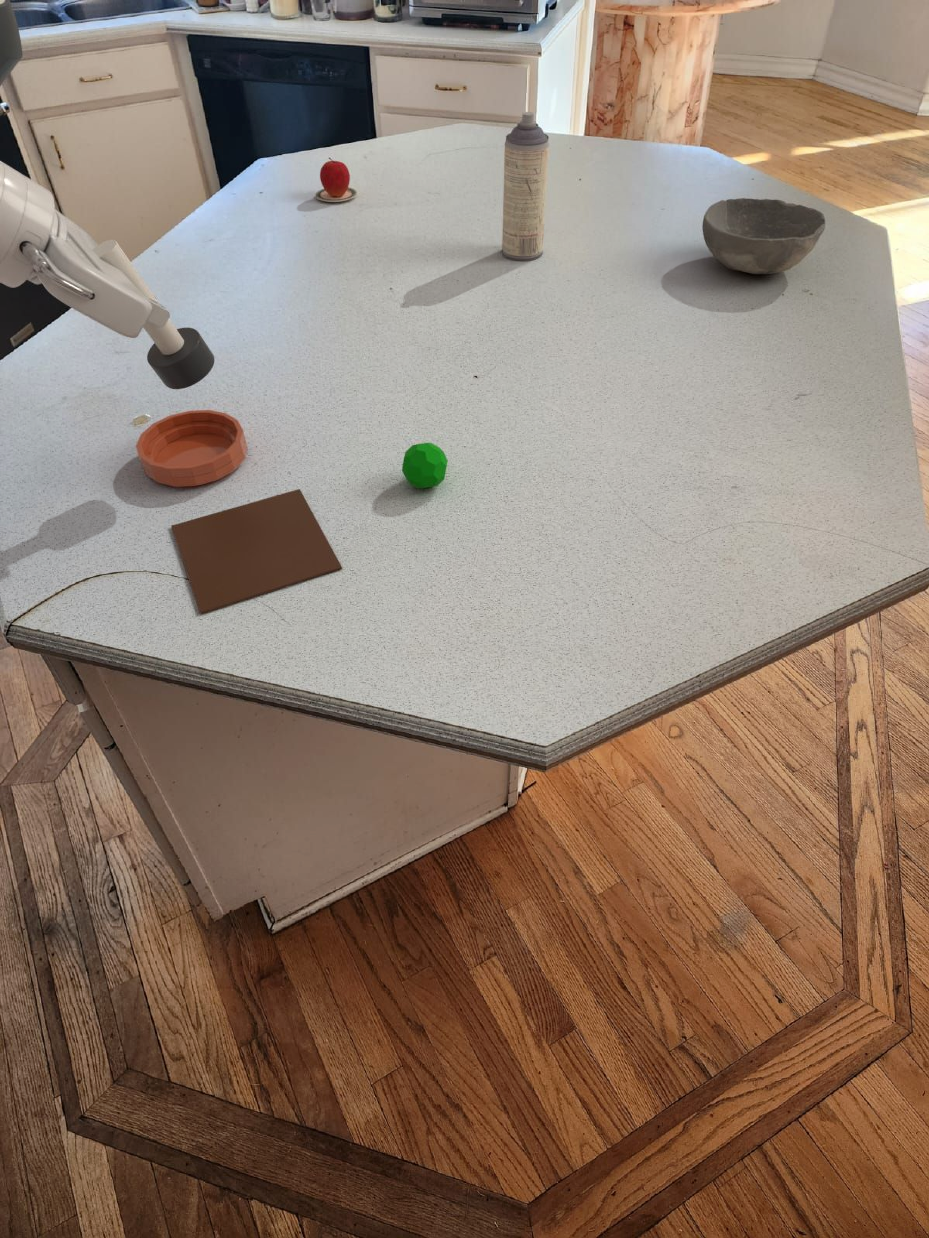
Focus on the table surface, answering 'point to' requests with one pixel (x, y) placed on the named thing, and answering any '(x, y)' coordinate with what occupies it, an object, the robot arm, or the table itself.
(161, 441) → the dish
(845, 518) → the table surface
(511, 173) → the aerosol can
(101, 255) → the brush
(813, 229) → the bowl
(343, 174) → the apple
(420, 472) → the polyhedron
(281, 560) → the board
